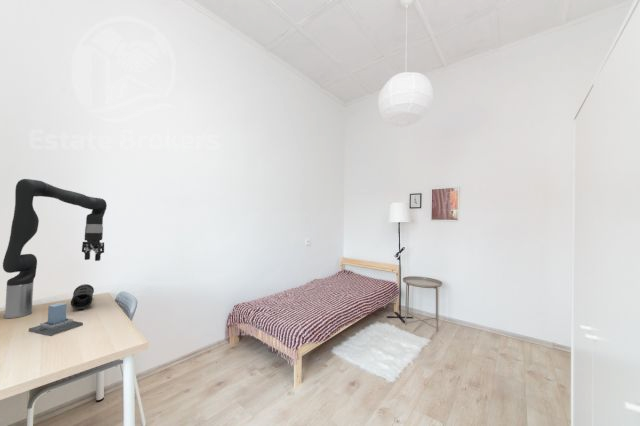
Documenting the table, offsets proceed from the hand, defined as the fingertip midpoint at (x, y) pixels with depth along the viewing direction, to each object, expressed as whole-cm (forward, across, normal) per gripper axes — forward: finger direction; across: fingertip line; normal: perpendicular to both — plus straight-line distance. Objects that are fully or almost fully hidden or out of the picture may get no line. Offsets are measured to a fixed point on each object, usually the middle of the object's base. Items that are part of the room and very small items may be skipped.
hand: (92, 260), depth 137 cm
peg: (+29, +8, -18) cm, 35 cm away
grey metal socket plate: (+30, +8, -18) cm, 36 cm away
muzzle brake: (+30, -20, +8) cm, 37 cm away
